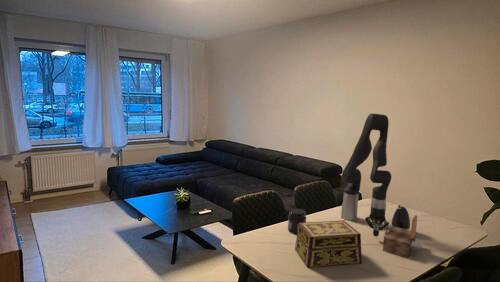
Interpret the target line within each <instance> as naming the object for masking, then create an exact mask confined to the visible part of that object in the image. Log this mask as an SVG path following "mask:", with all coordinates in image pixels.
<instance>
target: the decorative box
mask: <svg viewBox="0 0 500 282" xmlns="http://www.w3.org/2000/svg"><path fill="white" fill-rule="evenodd" d="M361 235H362V234H361V233H360V232H359V231H358V230H357V229H355V228H354V227H353V226H352V225H351V224H349V223H348V222H347V221H346V220H345V219H344V220H329V221H328V220H327V221H326V220H325V221H310V222H309V221H308V222H307V221H306V222H305V223H299V225H298V232H297V234H296V240H295V247H294V250H295V252H296V253H297V255H298V256H299V258H300V259H301V260H302V262H303V264H304V265H305V267H306V268H307V269H310V268H311V269H312V268H324V267H335V266H346V265H359V264H362V262H363V259H362V256H363V255H362V239H361V238H362V236H361Z"/></svg>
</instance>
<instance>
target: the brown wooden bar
mask: <svg viewBox="0 0 500 282" xmlns="http://www.w3.org/2000/svg"><path fill="white" fill-rule="evenodd" d="M387 233H388V231H386V232H385V233H384V235H383V237H384V236H385V235H386V234H387ZM411 248H413V250H417V251H421V249H422V242H418V241H416V242H414V241H412V245H411Z"/></svg>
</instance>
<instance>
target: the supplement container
mask: <svg viewBox="0 0 500 282" xmlns="http://www.w3.org/2000/svg"><path fill="white" fill-rule="evenodd" d="M288 211H289V212H288V213H289V214H288V217H287V218H288V221H287V230H288V232H290V233H292V234H296V235H297V232H298V225H299V223H305V222H307V216H306V210H304V209H301V208H291V209H289V210H288Z"/></svg>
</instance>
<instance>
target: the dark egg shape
mask: <svg viewBox="0 0 500 282" xmlns="http://www.w3.org/2000/svg"><path fill="white" fill-rule="evenodd" d="M390 223H391V228H392V227H393V226H394V227H398V228H402V229H406V230H410V228H411V219H410V213H409V211H408V209H407V208H406V207H405V206H401V205H398V206H397V208H396V210H395V211H394V213H393V216H392V219H391V222H390Z"/></svg>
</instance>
